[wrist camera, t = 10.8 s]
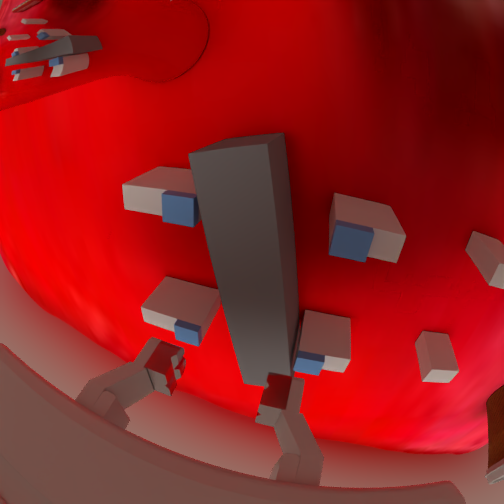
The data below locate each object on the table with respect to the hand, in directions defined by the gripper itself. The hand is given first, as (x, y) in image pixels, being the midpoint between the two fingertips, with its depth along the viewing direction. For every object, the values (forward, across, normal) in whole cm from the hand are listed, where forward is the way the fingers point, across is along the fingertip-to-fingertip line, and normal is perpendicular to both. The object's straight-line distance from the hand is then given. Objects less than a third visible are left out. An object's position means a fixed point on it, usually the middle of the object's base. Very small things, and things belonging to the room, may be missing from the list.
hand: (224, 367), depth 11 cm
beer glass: (+9, +8, -14) cm, 19 cm away
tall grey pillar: (+9, 0, 0) cm, 9 cm away
